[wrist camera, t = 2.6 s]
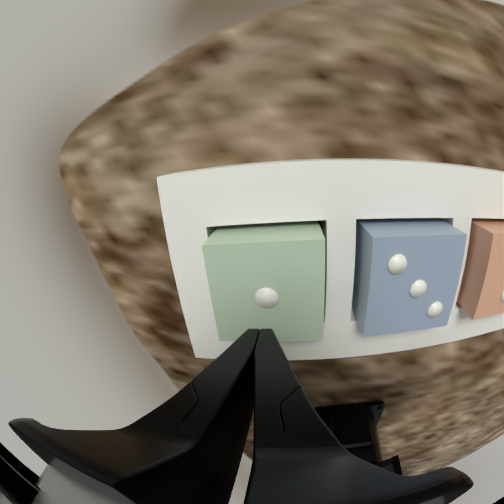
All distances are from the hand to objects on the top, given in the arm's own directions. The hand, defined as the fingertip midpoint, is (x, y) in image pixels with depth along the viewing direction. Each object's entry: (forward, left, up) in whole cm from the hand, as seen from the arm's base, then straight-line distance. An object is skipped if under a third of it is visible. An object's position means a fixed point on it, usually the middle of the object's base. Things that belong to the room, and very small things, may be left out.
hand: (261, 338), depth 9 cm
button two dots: (0, -14, -6) cm, 15 cm away
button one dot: (0, 0, -6) cm, 6 cm away
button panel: (0, -7, -7) cm, 10 cm away
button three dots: (0, -7, -6) cm, 9 cm away
